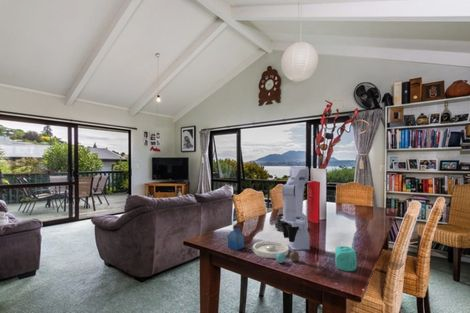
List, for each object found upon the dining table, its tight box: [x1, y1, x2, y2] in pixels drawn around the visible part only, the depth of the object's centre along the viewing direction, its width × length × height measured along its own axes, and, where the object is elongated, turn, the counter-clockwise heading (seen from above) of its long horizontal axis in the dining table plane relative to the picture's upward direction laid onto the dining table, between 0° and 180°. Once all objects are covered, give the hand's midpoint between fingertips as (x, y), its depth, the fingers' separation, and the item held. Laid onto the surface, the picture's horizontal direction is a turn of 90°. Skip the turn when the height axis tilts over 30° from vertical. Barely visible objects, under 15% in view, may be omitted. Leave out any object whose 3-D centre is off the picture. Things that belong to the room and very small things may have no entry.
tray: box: [252, 240, 290, 259], centre depth 127 cm, size 18×18×2 cm
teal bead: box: [275, 253, 286, 264], centre depth 113 cm, size 4×4×4 cm
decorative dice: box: [334, 245, 357, 272], centre depth 109 cm, size 8×8×8 cm
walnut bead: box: [289, 250, 300, 262], centre depth 115 cm, size 4×4×4 cm
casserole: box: [274, 213, 301, 230], centre depth 172 cm, size 25×19×8 cm
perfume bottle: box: [227, 224, 245, 251], centre depth 133 cm, size 6×6×12 cm
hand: (288, 239), depth 115 cm, fingers open, 7 cm apart
